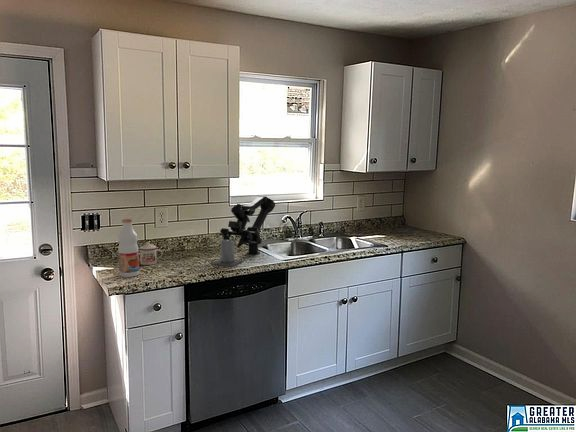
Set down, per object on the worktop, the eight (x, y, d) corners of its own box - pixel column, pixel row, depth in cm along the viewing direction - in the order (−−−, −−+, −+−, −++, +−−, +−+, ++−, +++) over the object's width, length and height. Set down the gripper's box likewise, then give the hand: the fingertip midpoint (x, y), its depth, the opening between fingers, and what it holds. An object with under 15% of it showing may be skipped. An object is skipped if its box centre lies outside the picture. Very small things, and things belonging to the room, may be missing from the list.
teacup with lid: (140, 265, 256) (139, 244, 254) (139, 262, 264) (138, 241, 262) (163, 264, 260) (162, 243, 258) (161, 260, 268) (161, 240, 266)
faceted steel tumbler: (221, 260, 267) (221, 239, 265) (234, 260, 267) (234, 239, 265) (220, 263, 259) (220, 241, 258) (233, 263, 260) (233, 241, 258)
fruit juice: (125, 272, 243) (123, 217, 239) (142, 273, 241) (140, 218, 237) (115, 277, 234) (113, 220, 229) (133, 278, 232) (131, 221, 228)
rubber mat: (223, 259, 272) (223, 254, 271) (243, 261, 267) (243, 256, 266) (211, 264, 260) (211, 258, 259) (232, 267, 255) (232, 261, 254)
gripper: (221, 214, 271) (210, 236, 263) (249, 216, 263) (239, 239, 255) (229, 225, 279) (219, 247, 271) (257, 228, 271) (247, 251, 263)
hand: (230, 246), depth 265 cm, fingers open, 9 cm apart
